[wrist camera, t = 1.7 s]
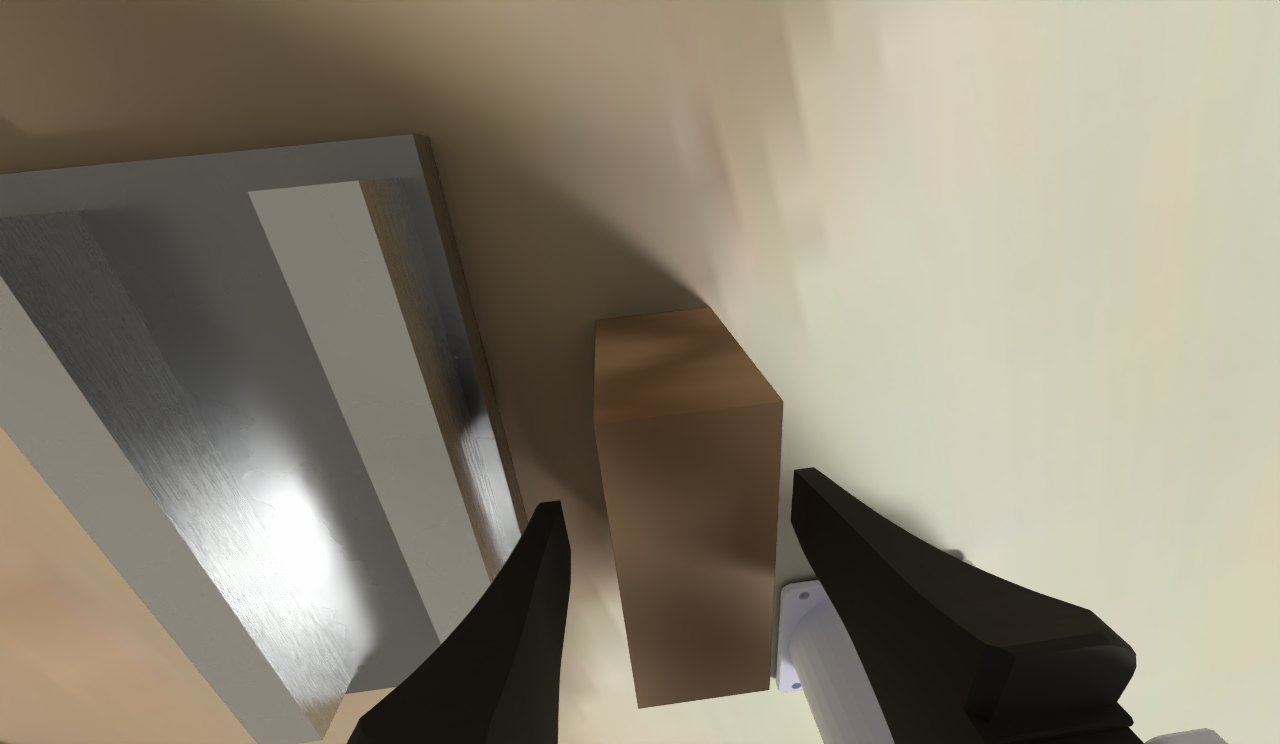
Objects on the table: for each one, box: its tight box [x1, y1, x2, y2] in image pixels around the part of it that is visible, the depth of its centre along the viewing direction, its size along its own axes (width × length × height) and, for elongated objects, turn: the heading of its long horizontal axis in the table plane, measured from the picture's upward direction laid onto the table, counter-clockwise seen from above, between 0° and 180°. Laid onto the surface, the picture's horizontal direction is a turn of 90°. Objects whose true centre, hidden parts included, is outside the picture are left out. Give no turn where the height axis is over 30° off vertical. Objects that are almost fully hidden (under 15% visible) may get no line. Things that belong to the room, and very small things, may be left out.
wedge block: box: [593, 307, 783, 709], centre depth 15 cm, size 4×10×7 cm, turn 5°
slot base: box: [0, 134, 528, 744], centre depth 16 cm, size 12×22×4 cm, turn 5°
